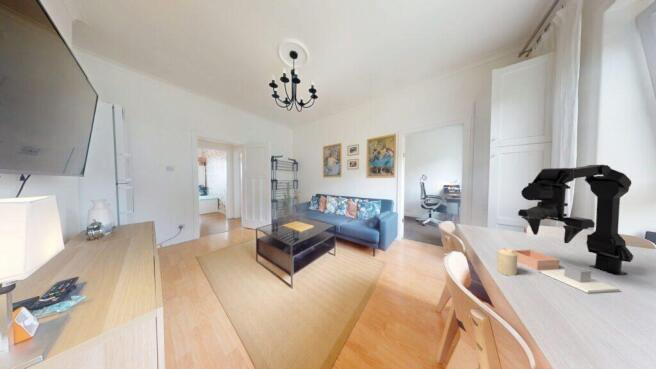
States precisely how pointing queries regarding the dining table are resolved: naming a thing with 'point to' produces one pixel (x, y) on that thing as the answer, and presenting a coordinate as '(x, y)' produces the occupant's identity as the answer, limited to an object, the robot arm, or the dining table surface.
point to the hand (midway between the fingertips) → (549, 238)
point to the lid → (579, 279)
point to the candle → (507, 262)
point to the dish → (536, 260)
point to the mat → (583, 291)
